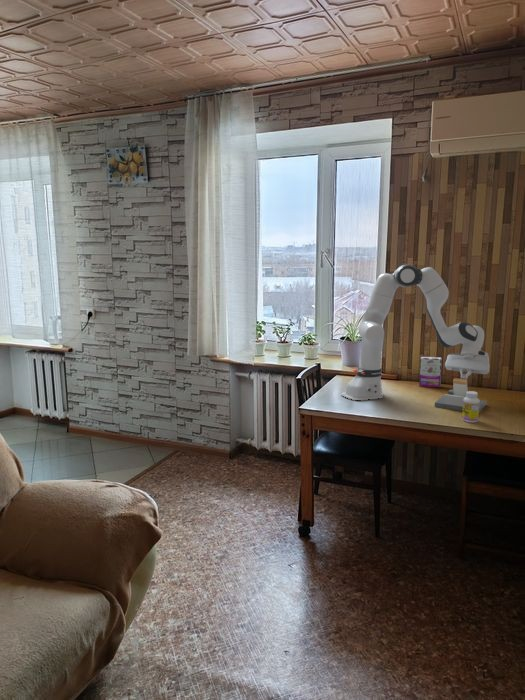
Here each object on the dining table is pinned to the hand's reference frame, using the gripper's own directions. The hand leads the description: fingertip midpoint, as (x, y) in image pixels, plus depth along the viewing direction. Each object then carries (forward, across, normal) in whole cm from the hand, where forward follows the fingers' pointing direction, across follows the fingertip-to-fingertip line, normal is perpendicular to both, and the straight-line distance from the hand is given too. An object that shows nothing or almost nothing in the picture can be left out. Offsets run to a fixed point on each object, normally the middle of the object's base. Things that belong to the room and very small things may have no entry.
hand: (463, 378), depth 240 cm
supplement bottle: (+26, +9, -7) cm, 28 cm away
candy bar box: (-10, -24, +29) cm, 39 cm away
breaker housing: (+11, 0, +8) cm, 14 cm away
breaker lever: (+9, 0, +5) cm, 10 cm away
